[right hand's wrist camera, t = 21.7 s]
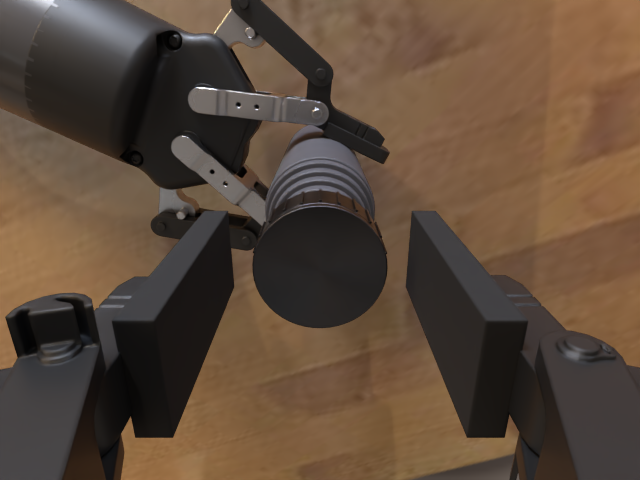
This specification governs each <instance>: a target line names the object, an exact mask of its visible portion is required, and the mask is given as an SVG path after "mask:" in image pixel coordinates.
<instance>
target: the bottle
mask: <svg viewBox="0 0 640 480" xmlns="http://www.w3.org/2000/svg"><path fill="white" fill-rule="evenodd" d="M319 189H322V191H330V192H335V193H336V192H337V191H338V192H339V194H342V195H344V196H347V197H349V198H351V199H353V198H354V199H355V201H356V202H357V203H358V204H359V205H361V206H362V207H363V208H364V209H367V210H368V212H369V214H370V216H371V218H372V219H373V221H374V216H375V204H374V198H373V194H372V191H371V189H370V186H369V184H368V182H367V180H366V177H365V175H364V173H363V171H362V168H361V166H360V164H359V162H358V159H357V157H356V155H355V153H354V150H353V149H351V148H348V147H346V146H344V145H343V144H341V143H339V142H337V141H334V140H332V139H330V138H328V137H326V136H324V135H323V133H322V129H320V128H318V127H315V126H313V125H308V126H305V127H304V128H302V129H300V130H299V131H298V132H297V133H296V134H295V135H294V136H293V138H292V139H291V141H290V143H289V145H288V148H287V150H286V152H285V154H284V157H283V159H282V161H281V163H280V166H279V168H278V170H277V172H276V175H275V177H274V179H273V181H272V184H271V186H270V188H269V191H268V194H267V197H266V202H265V217H266V221H267V219H268V218H269V216H270V215H271V212H272V209H273V208H275V209H276V208H277V207H278V206H279V205H280V204H282V203H283V202H284V201H285V199H286V198H288V199H289V198H291V197H293V196H295V195H298V194H301V192H302V191H304V193H305V192H309V191H319Z"/></svg>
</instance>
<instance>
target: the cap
mask: <svg viewBox="0 0 640 480" xmlns="http://www.w3.org/2000/svg"><path fill="white" fill-rule="evenodd" d="M253 253H254V256H253V276H254V281H255V284H256V287H257V290H258V292H259V294H260V296H261V297H262V299H263V300H264V302H265V303H266V304H267V305H268V306H269V307H270V308H271V309H272V310H273V311H274V312H275V313H276V314H278V315H279V316H281V317H282V318H284V319H286V320H288V321H290V322H292V323H295V324H297V325H301V326H305V327H311V328H329V327H335V326H339V325H342V324H345V323H348V322H350V321H352V320H354V319H356V318H358V317H359V316H361V315H362V314H363V313H365V312H366V311H367V310H368V309H369V308H370V307H371V306H372V305H373V304H374V303H375V301H376V300H377V299H378V297H379V295H380V293H381V292H382V289H383V287H384V284H385V280H386V276H387V258H386V254H387V251H386V249H385V246H384V243H383V241H382V236H381V233H380V230H379V228H378V225H377V223H376V222H375V223H374V221H373V219H372V218H371V216H370V214H369V212H368V210H367V209H364V208H363V207H362V206H361V205H359V204H358V203H357V202H356V201H355V199H354V198H353V199H351V198H349V197H347V196H344V195H342V194H339V192H338V191H337V192H336V193H335V192H330V191H322V189H319V191H309V192H305V193H304V191H302V192H301V194H298V195H295V196H293V197H291V198H289V199H288V198H286V199H285V201H284V202H283V203H282V204H280V205H279V206H278V207H277V208H276V209H275V208H273V209H272V212H271V215H270V216H269V218H268V219H267V221H266V222H265V221H264V223H263V225H262V228H261V230H260V233H259V235H258V240H257V242H256V245H255V248H254V250H253Z"/></svg>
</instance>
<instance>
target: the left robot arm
mask: <svg viewBox="0 0 640 480" xmlns="http://www.w3.org/2000/svg"><path fill="white" fill-rule="evenodd" d="M231 6H232V8H231V9H230V11H229V12H228V14H227V15H226V17H225V18H224V20H223V21H222V22H221V24H220V25H219V27H218V28H217V30H216V31H215V32H214V34H209V33H201V34H193V33H188V32H186V31H184V30H182V29H180V28H178V27H176V26H174V25H172V24H170V23H168V22H166V21H164V20H162V19H160V18H158V17H156V16H154V15H152V14H150V13H148V12H146V11H144V10H142V9H140V8H138V7H136V6H134V5H132V4H130V3H128V2H126V1H124V0H0V108H2V109H4V110H7V111H9V112H11V113H13V114H16V115H18V116H20V117H22V118H25V119H27V120H29V121H31V122H34V123H36V124H38V125H40V126H43V127H45V128H47V129H49V130H52V131H54V132H56V133H59V134H61V135H63V136H65V137H67V138H70V139H72V140H74V141H76V142H79V143H81V144H83V145H86V146H88V147H90V148H92V149H95V150H97V151H99V152H101V153H104V154H106V155H108V156H110V157H113V158H115V159H117V160H119V161H122V162H124V163H127V164H130V165H133V166H135V167H137V168H139V169H141V170H142V171H144V172H145V173H146V174H147V175H148V176H149V177H150V178H151V180H152V181H153V182H154V183H155V184H156V185H158V186H159V187H160V197H159V213H158V215H157V216H156V217H155V218H154V219H153V220H152V221H151V228H152V230H153V232H154V233H155V234H157V235H159V236H163V237H169V238H175V239H181V238H182V237H183V236H184V235H185V233H186V232H187V231H188V230H189V229H190V227H191V226H192V225H193V224H194V223H195V222H196V220H197V219H198V218H199V217H200V216H201V215H202V213H203V212H204V211H213V210H207V209H202V208H199V205H198V203H197V201H196V200H194V199H192V198H189V197H187V196H186V195H185V194H184V193H183V192H182V189H181V188H186V187H191V186H197V185H202V184H208V183H209V184H210V185H211V186H212V187H214V188H215V189H216V190H217V191H218V192H219V193H220V194H222V195H223V196H224V197H225V198H226V199H227V200H228V201H230V202H231V203H232V204H234V205H238V206H240V207H241V208H242V209H243V210H245V211H246V212H247V213H248V214H249V215H250V217H247V216H242V215H236V214H230V213H228V217H229V229H230V242H231V248H234V249H240V250H251V249H253V248H254V247H255V245H256V242H257V240H258V235H259V233H260V230H261V228H262V225H263V223H264V221H265V222H266V217H265V202H266V197H267V194H268V191H269V189H268V188H267V187H266V186H265V185H264V184H263V183H262V182H261V181H260V180H259V179H258V177H257V175H256V174H255V173H254V172H253V171H252V170H251V169H250V168H249V167H247V166H246V165H245V164H244V163H245V160H246V158H247V156H248V152H249V144H250V139H251V138H252V137H253V135H254V134H255V133H256V131H257V130H258V129H259V127H260V124H261V122H262V120H264V121H272V122H289V123H297V124H305V125H313V126H315V127H318V128H320V129H322V133H323V135H324V136H326V137H328V138H330V139H332V140H334V141H337V142H339V143H341V144H343V145H344V146H346V147H348V148H351V149H353V150H355V151H357V152H359V153H361V154H363V155H365V156H367V157H369V158H371V159H373V160H375V161H377V162H379V163H382V164H384V163H385V161H386V159H387V157H388V155H389V153H390V152H389V151H388V150H387V148H385V147H383V146H382V143H383V142H384V140H385V139H384V138H383V136H382V135H381V134H380V133H379V132H378V131H377V130H376V129H375V128H374V127H372V126H370V125H368V124H365V123H364V122H362V121H359V120H358V119H356V118H354V117H352V116H350V115H348V114H346V113H344V112H342V111H340V110H338V109H336V108H335V107H334V106H333V105H332V103H331V100H330V94H331V84H332V79H333V69H332V67H331V66H330V65H329V64H328V63H327V62H326V61H325V60H324V59H323V58H322V57H321V56H320V55H319V54H318V53H317V52H316V51H314V50H313V49H312V48H311V47H310V46H309V45H308V44H307V43H306V42H305V41H304V40H303V39H302V38H301V37H299V36H298V35H297V34H296V33H295V32H294V31H293V30H292V29H291V28H290V27H289V26H288V25H287V24H286V23H284V22H283V21H282V20H281V19H280V18H279V17H278V16H277V15H276V14H275V13H274V12H273V11H272V10H271V9H270V8H268V7H267V6H266V5H265V4H264V3H263V2H262V1H261V0H231ZM265 42H268V43H269V44H270V45H271V46H272V47H273V48H274V49H275V50H276V51H277V52H279V53H280V54H281V55H282V56H283V57H284V58H285V59H286V60H287V61H288V62H290V63H291V64H292V65H293V66H294V67H295V68H296V69H297V70H298V71H299V72H301V73H302V74H303V75H304V76H305V77H306V78H307V79H308V87H307V97H300V96H292V95H286V94H280V93H272V92H264V91H256V90H255V88H254V87H253V85H252V83H251V81H250V80H249V78H248V76H247V74H246V72H245V71H244V69H243V67H242V65H241V64H240V62H239V60H238V58H237V56H236V55H235V53H234V51H233V49H232V47H233V46H234V45H236V44H238V43H244V44H246V45H247V46H249V47H252V48H259V47H261V46H263V45H264V43H265ZM225 181H226V182H227V183H228V184H227V183H225Z"/></svg>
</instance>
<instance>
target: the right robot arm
mask: <svg viewBox="0 0 640 480" xmlns="http://www.w3.org/2000/svg"><path fill="white" fill-rule="evenodd" d="M233 288H234V279H233V266H232V254H231V242H230V229H229V217H228V211H204V212H203V213H202V215H201V216H200V217H199V218H198V219H197V220H196V222H195V223H194V224H193V225H192V226H191V227H190V229H189V230H188V231H187V232H186V233H185V235H184V236H183V237H182V238H181V239H180V240H179V242H178V243H177V244H176V245H175V246H174V248H173V249H172V250H171V251H170V252H169V253H168V255H167V256H166V257H165V258H164V259H163V261H162V262H161V263H160V264H159V265H158V266H157V268H156V269H155V270H154V271H153V272H152V273H151V275H150V276H149V277H133V278H132V279H130V280H128V281H126V282H124V283H123V284H121V285H119V286H118V287H117V288H116V289H115V290H114V291H113V292H112V293H111V294H110V295H109V296H108V299H105V300H104V301H103V302H102V303H101V304H100V305H99V308H97V309H96V310H95V311H94V309H93V304H92V300H91V298H89V297H88V296H86V295H83V294H78V293H60V294H54V295H49V296H44V297H41V298H38V299H35V300H32V301H29V302H27V303H25V304H23V305H21V306H19V307H17V308H15V309H14V310H12V311H11V312H10V313H9V314H8V315H7V316H6V317H5V318H6V321H7V324H8V327H9V331H10V334H11V337H12V340H13V344H14V347H15V350H16V353H17V357H18V359H17V360H16V362H15V364H14V366H13V367H12V368H7V369H2V370H0V480H121V473H122V466H123V459H124V447H123V441H122V436H121V433H122V431H123V429H124V427H125V425H126V424H127V422H128V420H129V418H130V416H131V419H132V423H133V428H134V433H135V438H173V436H174V434H175V431H176V429H177V426H178V424H179V422H180V419H181V417H182V414H183V412H184V409H185V407H186V404H187V402H188V399H189V397H190V394H191V392H192V389H193V387H194V385H195V382H196V380H197V377H198V375H199V372H200V370H201V367H202V365H203V362H204V360H205V357H206V355H207V352H208V350H209V347H210V345H211V343H212V340H213V338H214V335H215V333H216V330H217V328H218V325H219V323H220V320H221V318H222V315H223V313H224V310H225V308H226V306H227V303H228V301H229V298H230V296H231V293H232V291H233ZM406 288H407V291H408V293H409V296H410V298H411V301H412V303H413V306H414V308H415V310H416V313H417V315H418V318H419V320H420V323H421V325H422V328H423V330H424V333H425V335H426V338H427V340H428V343H429V345H430V347H431V350H432V352H433V355H434V357H435V360H436V362H437V365H438V367H439V370H440V372H441V375H442V377H443V380H444V382H445V385H446V387H447V389H448V392H449V394H450V397H451V399H452V402H453V404H454V407H455V409H456V412H457V414H458V417H459V419H460V422H461V424H462V426H463V429H464V431H465V434H466V436H467V438H505V433H506V428H507V423H508V419H509V414H510V416H511V418H512V420H513V421H514V423H515V425H516V427H517V429H518V430H519V436H518V441H517V446H516V450H515V455H514V459H513V464H512V468H511V473H510V480H516V478H517V474H518V473H519V479H520V480H640V368H639V367H633V366H629V365H626V363H625V361H624V359H623V358H622V356H621V355H620V354H619V353H618V352H617V351H616V350H615V349H614V348H613V347H611V346H610V345H608V344H606V343H605V342H603V341H602V340H599V339H597V338H594V337H592V336H589V335H587V334H583V333H578V332H574V331H567V330H566V329H565V328H564V327H563V326H562V325H561V324H560V323H559V322H558V321H557V320H556V319H555V318H554V317H553V316H552V315H551V314H550V313H549V312H548V311H547V310H546V309H545V308H544V307H543V306H541V303H540V302H539V301H538V300H537V299H536V298H535V297H532V294H531V293H530V292H529V291H528V290H527V289H526V288H525V287H524V286H523V285H522V284H520V283H519V282H517V281H515V280H513V279H511V278H509V277H508V276H506V275H489V273H488V272H487V271H486V270H485V269H484V268H483V266H482V265H481V264H480V263H479V262H478V261H477V259H476V258H475V257H474V256H473V255H472V253H471V252H470V251H469V250H468V249H467V248H466V246H465V245H464V244H463V243H462V242H461V240H460V239H459V238H458V237H457V236H456V235H455V233H454V232H453V231H452V230H451V229H450V227H449V226H448V225H447V224H446V223H445V222H444V220H443V219H442V218H441V217H440V216H439V215H438V213H437V212H436V211H412V217H411V229H410V242H409V254H408V266H407V279H406Z"/></svg>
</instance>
